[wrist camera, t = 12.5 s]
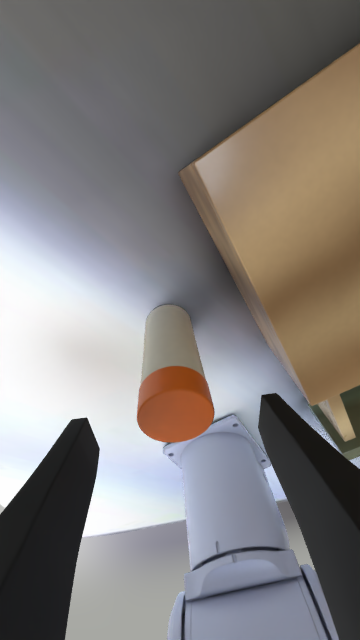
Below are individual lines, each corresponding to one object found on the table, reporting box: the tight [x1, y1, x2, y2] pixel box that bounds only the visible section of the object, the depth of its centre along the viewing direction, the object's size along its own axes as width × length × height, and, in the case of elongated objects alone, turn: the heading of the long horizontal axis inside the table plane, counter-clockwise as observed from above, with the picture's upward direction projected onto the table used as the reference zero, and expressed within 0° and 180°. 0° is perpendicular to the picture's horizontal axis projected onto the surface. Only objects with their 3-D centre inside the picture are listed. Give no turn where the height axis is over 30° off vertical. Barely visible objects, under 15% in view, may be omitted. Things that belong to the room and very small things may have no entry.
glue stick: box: [137, 305, 214, 443], centre depth 14 cm, size 3×3×8 cm
